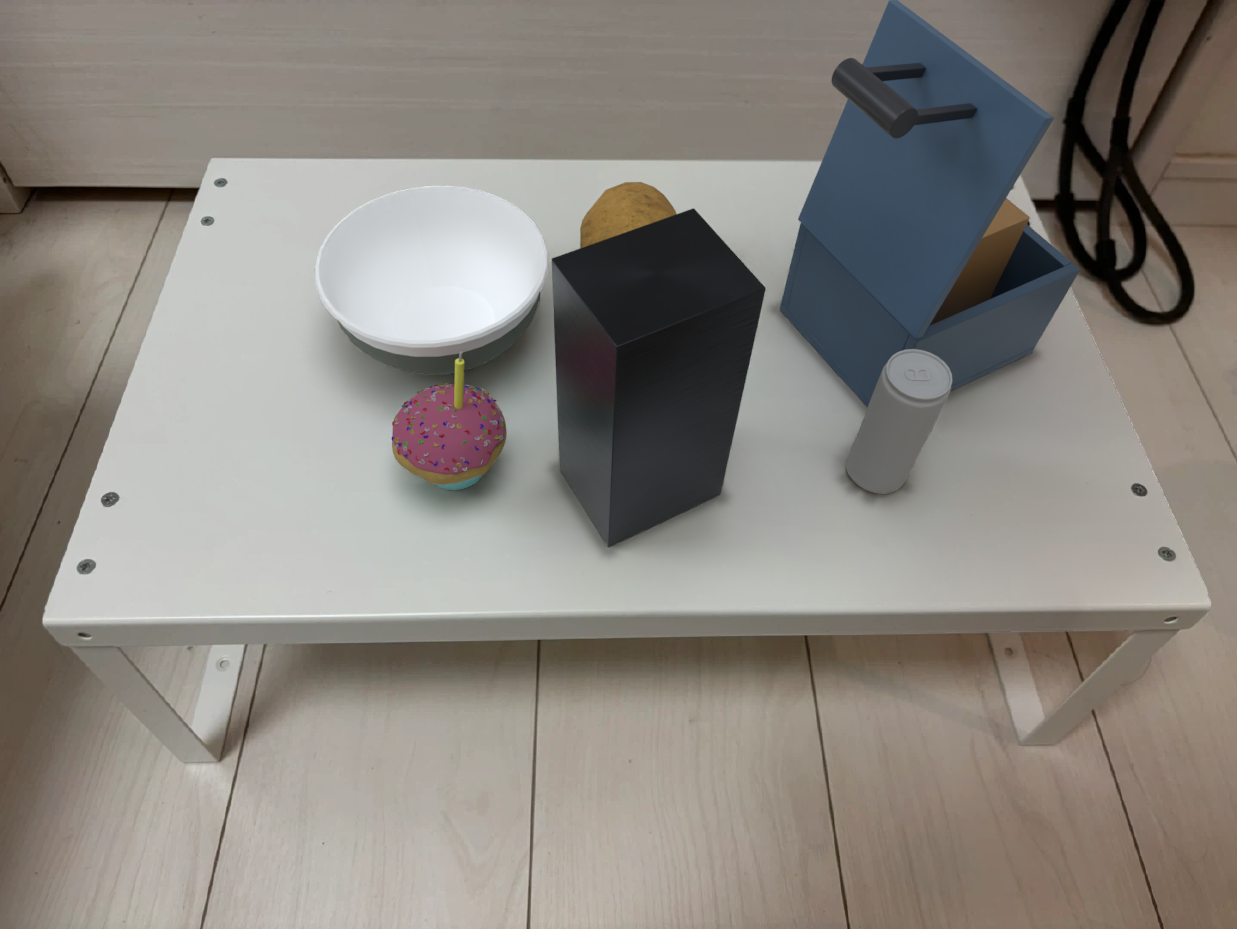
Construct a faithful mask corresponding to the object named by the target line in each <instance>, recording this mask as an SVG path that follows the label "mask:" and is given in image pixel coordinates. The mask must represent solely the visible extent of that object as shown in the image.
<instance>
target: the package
mask: <svg viewBox="0 0 1237 929" xmlns="http://www.w3.org/2000/svg"><path fill="white" fill-rule="evenodd" d="M1030 219H1031V217H1030V216H1029V215H1028V214H1026V213H1025V212H1024V211H1023V210H1022V209H1021V208H1019V207H1018V206H1017V205H1016V204H1015V203H1013V202H1012V201H1011V200H1010V199H1008V198H1007V197H1006V199H1005V201H1004V202H1003V204H1002V206H1001V207H1000V209H999V211H998V212H997V214H996V216H995V217H994V219H993V221H992V222H991V224H990V226H989V227H988V229H987V231H986V232H985V234H984V236H983V237H982V239H981V241H980V242H979V244H978V246H977V247H976V249H975V250H974V252H973V254H972V255H971V257H970V259H969V260H968V262H967V264H966V265H965V267H964V269H963V270H962V272H961V274H960V275H959V277H958V279H957V280H956V282H955V284H954V285H953V287H952V289H951V290H950V292H949V294H948V295H947V297H946V299H945V300H944V302H943V304H942V305H941V307H940V309H939V310H938V312H937V314H936V315H935V317H934V319H933V320H932V322H931V323H930V325H933V324H935V323H937V322H940V321H942V320H944V319H946V318H949V317H951V316H953V315H955V314H958V313H960V312H962V311H965V310H967V309H969V308H971V307H974V306H976V305H978V304H980V303H983V302H985V301H987V300H989V299H990V297H991V295H992V293H993V291H994V289H995V287H996V285H997V283H998V281H999V279H1000V277H1001V275H1002V273H1003V271H1004V269H1005V267H1006V265H1007V263H1008V261H1009V259H1010V257H1011V255H1012V253H1013V251H1014V249H1015V247H1016V245H1017V243H1018V241H1019V239H1020V237H1021V235H1022V233H1023V231H1024V229H1025V227H1026V225H1028V223H1029V221H1030ZM930 325H929V326H930Z"/></svg>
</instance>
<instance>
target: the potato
mask: <svg viewBox="0 0 1237 929" xmlns="http://www.w3.org/2000/svg"><path fill="white" fill-rule="evenodd" d="M676 214H677V212H676V209H675V208H674V206H673V204H672V203H671V202H670V201H669V199H668V198H667V197H666V196H665V194H663V192H661V191H660V190H659V189H657V188H656V187H654V186H653V185H650V184H648V183H645V182H642V181H625V182H622V183H619V184H617V185H615V186H612V187H610V188H607V189H605V190H604V191H603V193H602V194H601V195H600V196H599V197H598V198H597V200H596V201H595V202H594V204H593V205H591V207H590V208H589V210H588V211H587V212H586V213H585V215H584V216H583V218H582V220H581V225H580V228H579V229H580V230H579V233H580V239H579V240H580V241H579V245H580V246H579V249H580V248H583V247H586V246H588V245H591V244H594V243H597V242H600V241H603V240H605V239H608V238H611V237H614V236H617V235H619V234H622V233H625V232H628V231H631V230H634V229H636V228H639V227H642V226H645V225H648V224H651V223H653V222H656V221H659V220H662V219H665V218H667V217H670V216H673V215H676Z"/></svg>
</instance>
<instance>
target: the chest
mask: <svg viewBox="0 0 1237 929" xmlns="http://www.w3.org/2000/svg"><path fill="white" fill-rule="evenodd" d="M1080 272H1081V268H1080V267H1079V266H1077V264H1075V263H1073V262H1072V261H1071V260H1070V259H1069V258H1067V257H1066V255H1064V254H1063V253H1062V252H1060V251H1059V249H1057V248H1056V247H1054V246H1053V245H1052V243H1050V242H1049V241H1048V240H1046V239H1045V238H1044V237H1043V236H1042V235H1041V234H1039V232H1037V231H1036V230H1034V228H1032V227H1031V226H1030V225H1029V224H1027V225H1026V227H1025V229H1024V231H1023V233H1022V235H1021V237H1020V239H1019V241H1018V243H1017V245H1016V247H1015V249H1014V251H1013V253H1012V255H1011V257H1010V259H1009V261H1008V263H1007V265H1006V267H1005V269H1004V271H1003V273H1002V275H1001V277H1000V279H999V281H998V283H997V285H996V287H995V289H994V291H993V293H992V295H991V297H990V299H989V300H987V301H985V302H983V303H980V304H978V305H976V306H974V307H971V308H969V309H967V310H965V311H962V312H960V313H958V314H955V315H953V316H951V317H949V318H946V319H944V320H942V321H940V322H937V323H935V324H933V325H930V326H929V327H928V328H927V330H926V332H925V333H924V335H923V337H919V338H916V339H915V338H914V337H913V336H912V335H911V334H910V333H909V332H908V331H907V330H906V329H905V328H904V327H903V326H902V325H901V324H900V323H899V322H898V321H897V320H896V319H895V318H894V317H893V316H892V315H891V313H890V312H889V311H888V310H887V309H886V308H885V307H884V306H883V305H882V304H881V303H880V302H879V301H878V300H877V299H876V298H875V297H874V296H873V295H872V294H871V293H870V292H869V291H868V290H867V289H866V288H865V287H864V286H863V285H862V284H861V283H860V282H859V281H858V280H857V279H856V278H855V277H854V276H853V275H852V274H851V273H850V272H849V271H848V270H847V269H846V268H845V267H844V266H843V265H842V264H841V263H840V262H839V261H838V260H837V259H836V258H835V257H834V256H833V255H832V254H831V253H830V252H829V251H828V250H827V249H826V247H825V246H824V245H823V244H822V243H821V242H820V241H819V240H818V239H817V238H816V237H815V236H814V235H813V234H812V233H811V232H810V231H809V230H808V229H807V228H806V227H805V226H804V225H803V224H802V223H801V222H800V223H799V227H798V231H797V235H796V240H795V244H794V248H793V252H792V256H791V259H790V264H789V269H788V272H787V277H786V282H785V285H784V289H783V294H782V298H781V301H780V306H779V311H781V312H782V314H783V315H784V316H785V317H786V319H787V320H788V321H790V323H791V324H792V325H793V326H794V327H795V328H796V329H797V330H798V332H799V333H800V334H801V335H802V336H803V338H804V339H805V340H806V341H807V342H808V343H809V344H810V345H811V346H812V348H814V350H815V351H816V352H817V353H818V354H819V355H820V357H821V358H823V360H824V361H825V362H826V363H827V364H828V365H829V367H830V368H832V369H833V371H834V372H835V373H836V374H837V375H838V376H839V378H841V380H842V381H843V382H844V383H845V384H846V386H848V388H849V389H850V390H851V391H852V392H853V393H854V394H855V396H856V397H858V399H859V400H860V401H861V402H862V404H864V405H865V407H866V408H867V407H868V405H869V402H870V400H871V397H872V395H873V392H874V390H875V387H876V385H877V382H878V380H879V377H880V375H881V372H882V370H883V367H884V366H885V365H886V363H887V362H888V360H889V359H890V358H891V357H892V356H893V355H894V354H896V353H897V352H899V351H903V350H908V349H917V350H923V351H927V352H930V353H932V354H934V355H936V356H937V357H939V358H940V359H941V360H943V361H944V362H945V363H946V365H947V366H948V367H949V369H950V371H951V374H952V385H951V390H950V392H953V391H954V390H956V389H959V388H961V387H963V386H965V385H967V384H969V383H971V382H974V381H976V380H978V379H980V378H982V377H985V376H986V375H989V374H991V373H993V372H995V371H997V370H999V369H1001V368H1004V367H1005V366H1008V365H1009V364H1012V363H1014V362H1016V361H1018V360H1020V359H1022V358H1025V357H1027V356H1029V355H1031V354H1033V353H1034V350H1035V349H1036V346H1037V345H1038V344H1039V341H1040V340H1041V338H1042V336H1043V334H1044V332H1045V331H1046V329H1047V328H1048V326H1049V324H1050V322H1051V321H1052V319H1053V318H1054V316H1055V314H1056V312H1057V310H1059V307H1060V305H1061V304H1062V302H1063V301H1064V298H1065V297H1066V295H1067V294H1068V292H1069V290H1070V288H1071V287H1072V285H1073V284H1074V282H1075V280H1076V278H1077V276H1078V275H1079V273H1080Z"/></svg>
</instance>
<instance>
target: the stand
mask: <svg viewBox="0 0 1237 929" xmlns="http://www.w3.org/2000/svg"><path fill="white" fill-rule="evenodd" d="M551 279H552V280H551V282H552V283H551V284H552V303H553V304H552V308H553V331H554V332H553V333H554V359H555V386H556V387H555V388H556V408H557V409H556V410H557V433H558V434H557V436H558V459H559V460H558V464H559V465H558V466H559V471H560V473H561V475H562V476H563V478H564V479H565V481H566V483H568V486H569V487H570V489H571V491H572V493H573V494H574V495H575V497H576V499H577V500H578V502H579V503H580V505H581V506H582V508H583V510H584V511H585V513H586V514H587V516H588V517H589V519H590V521H591V522H592V524H593V525H594V527H595V529H596V531H597V532H598V534H599V535H600V536H601V539H602V540H603V541H604V543H605V545H606V546H607V547H608V548H610V547H612V546H614V545H616V544H619V543H621V542H623V541H625V540H627V539H630V538H631V537H634V536H635V535H638V534H640V533H642V532H644V531H646V530H648V529H651V528H653V527H655V526H657V525H659V524H662V523H663V522H666V521H667V520H670V519H672V518H675V517H676V516H678V515H680V514H683V513H685V512H687V511H689V510H691V509H693V508H695V507H698V506H699V505H702V504H704V503H706V502H708V501H711V500H713V499H715V498H716V497H719V496H721V495H722V490H723V487H724V486H723V485H724V481H725V477H726V472H727V467H728V463H729V458H730V454H731V449H732V446H733V445H732V444H733V441H734V435H735V431H736V427H737V421H738V417H739V413H740V408H741V404H742V400H743V396H744V395H743V394H744V390H745V387H746V386H745V385H746V381H747V377H748V373H749V372H748V371H749V367H750V362H751V357H752V354H753V348H754V344H755V340H756V335H757V330H758V327H759V325H758V324H759V321H760V318H761V313H762V308H763V303H764V298H765V294H766V290H767V289H766V286H765V285H764V284H763V283H762V282H761V280H759V278H758V277H757V276H756V275H755V274H754V273H753V272H752V271H751V270H750V268H748V267H747V265H746V264H745V263H744V262H743V260H741V259H740V258H739V257H738V255H737V254H736V253H735V252H734V251H733V250H732V248H730V246H729V245H728V244H727V243H726V242H725V241H724V240H723V239H722V237H720V235H719V234H718V233H717V232H716V230H714V229H713V227H712V226H711V225H710V224H709V223H708V222H707V221H706V219H704V218H703V217H702V215H701V214H700V213H699V212H698V211H697V210H696V208H695V207H694V208H690V209H687V210H684V211H681V212H678V213H676V215H673V216H670V217H667V218H665V219H662V220H659V221H656V222H653V223H651V224H648V225H645V226H642V227H639V228H636V229H634V230H631V231H628V232H625V233H622V234H619V235H617V236H614V237H611V238H608V239H605V240H603V241H600V242H597V243H594V244H591V245H588V246H586V247H583V248H580V247H579V248H577V249H574V250H572V251H569V252H566V253H564V254H560V255H557V256H555V257H552V258H551Z"/></svg>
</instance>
